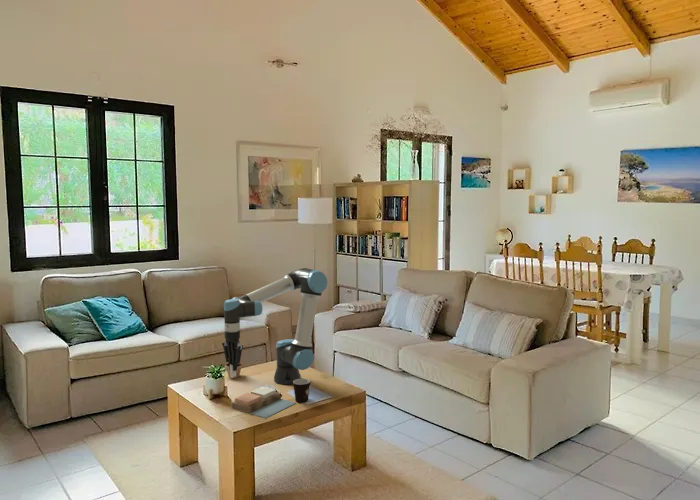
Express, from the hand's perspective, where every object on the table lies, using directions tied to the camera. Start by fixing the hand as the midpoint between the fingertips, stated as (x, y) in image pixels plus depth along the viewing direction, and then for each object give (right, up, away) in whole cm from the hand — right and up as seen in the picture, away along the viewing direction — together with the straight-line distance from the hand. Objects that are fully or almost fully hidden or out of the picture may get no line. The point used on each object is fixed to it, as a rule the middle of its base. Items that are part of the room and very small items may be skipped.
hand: (233, 376), depth 273 cm
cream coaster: (+14, -10, +5) cm, 18 cm away
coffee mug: (+35, -13, +5) cm, 38 cm away
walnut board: (+12, -14, 0) cm, 18 cm away
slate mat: (+21, -14, -6) cm, 26 cm away
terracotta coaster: (+8, -11, -4) cm, 15 cm away
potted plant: (-8, -10, +42) cm, 44 cm away
